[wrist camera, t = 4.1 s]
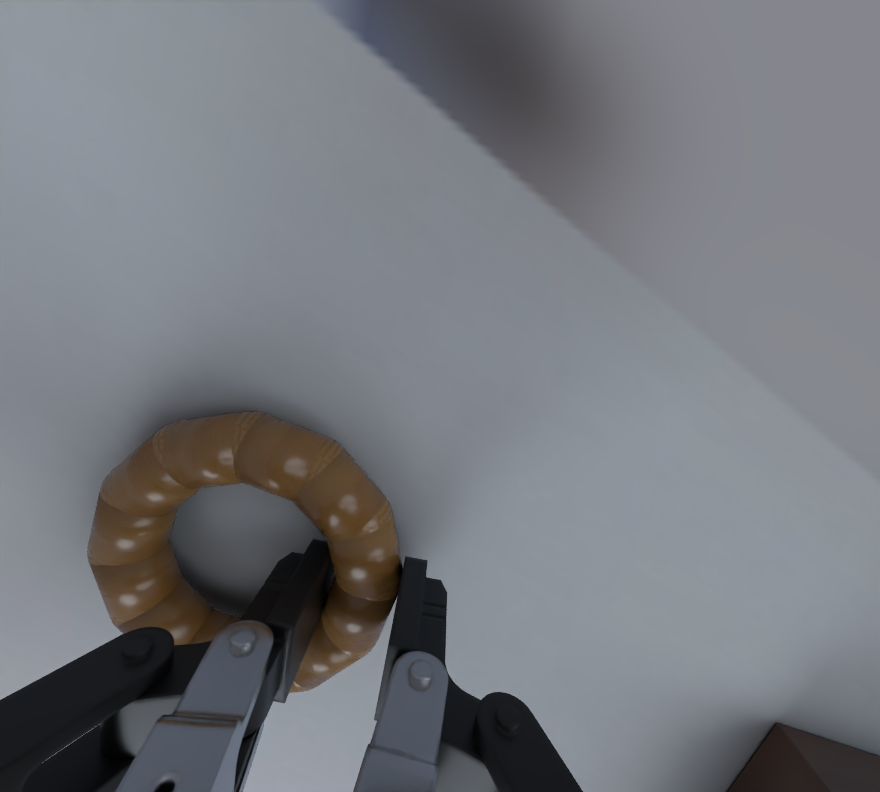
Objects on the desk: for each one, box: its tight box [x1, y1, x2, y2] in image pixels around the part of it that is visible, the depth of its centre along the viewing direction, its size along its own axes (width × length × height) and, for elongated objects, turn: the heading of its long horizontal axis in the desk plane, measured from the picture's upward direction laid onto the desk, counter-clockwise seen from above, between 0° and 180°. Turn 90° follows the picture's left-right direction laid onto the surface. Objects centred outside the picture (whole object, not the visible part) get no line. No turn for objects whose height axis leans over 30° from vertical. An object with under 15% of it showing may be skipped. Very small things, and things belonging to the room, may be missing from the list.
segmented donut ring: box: [87, 411, 403, 693], centre depth 13 cm, size 9×9×2 cm
